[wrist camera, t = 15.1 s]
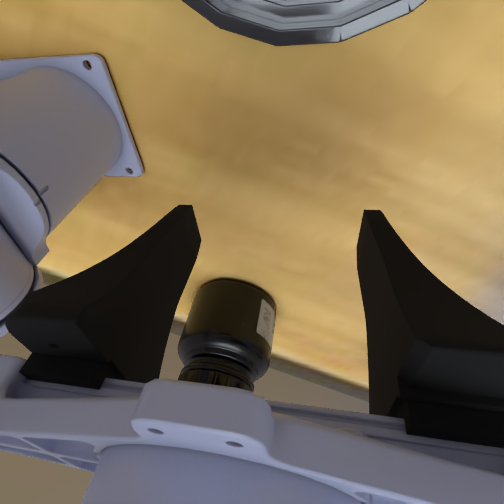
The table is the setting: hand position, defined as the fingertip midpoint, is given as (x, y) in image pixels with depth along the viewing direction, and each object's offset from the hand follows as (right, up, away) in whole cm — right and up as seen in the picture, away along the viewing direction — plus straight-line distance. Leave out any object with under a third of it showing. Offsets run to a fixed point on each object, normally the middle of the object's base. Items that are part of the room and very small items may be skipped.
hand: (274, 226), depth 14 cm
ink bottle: (-3, -7, +21) cm, 22 cm away
